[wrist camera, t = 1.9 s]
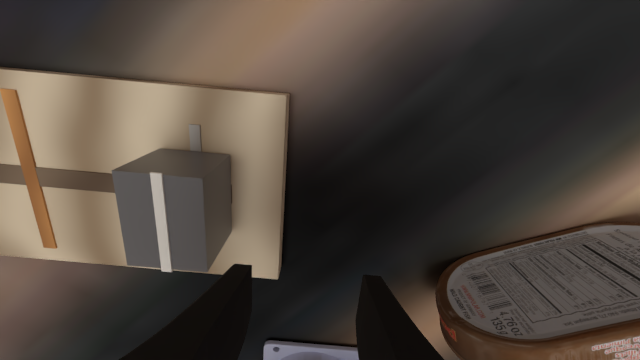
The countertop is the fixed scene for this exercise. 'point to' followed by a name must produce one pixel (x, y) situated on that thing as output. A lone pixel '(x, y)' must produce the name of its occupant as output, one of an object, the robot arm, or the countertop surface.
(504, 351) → the tin
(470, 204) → the countertop surface
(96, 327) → the countertop surface
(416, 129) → the countertop surface
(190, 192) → the fader knob
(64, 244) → the fader board
